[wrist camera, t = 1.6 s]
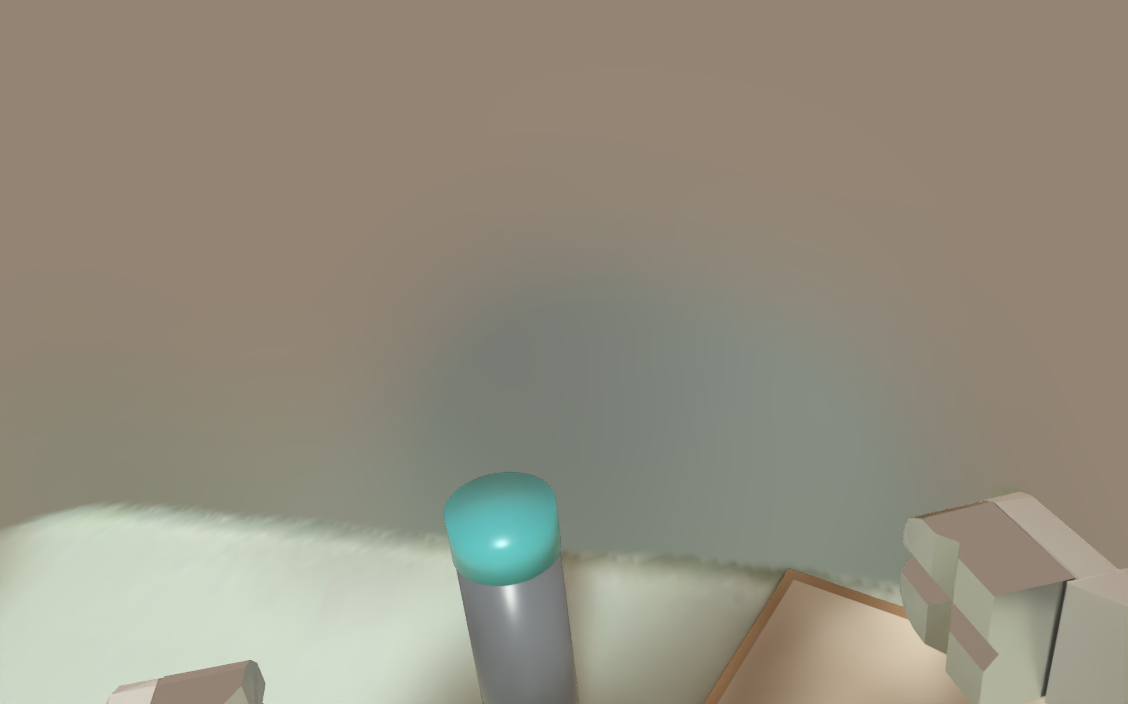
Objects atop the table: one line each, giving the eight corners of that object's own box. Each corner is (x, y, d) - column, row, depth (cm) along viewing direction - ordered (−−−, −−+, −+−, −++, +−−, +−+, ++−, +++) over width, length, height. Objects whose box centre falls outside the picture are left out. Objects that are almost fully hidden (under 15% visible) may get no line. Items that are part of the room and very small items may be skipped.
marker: (489, 839, 30) (420, 520, 24) (541, 771, 32) (491, 461, 26) (562, 886, 28) (509, 556, 22) (612, 811, 30) (577, 490, 24)
